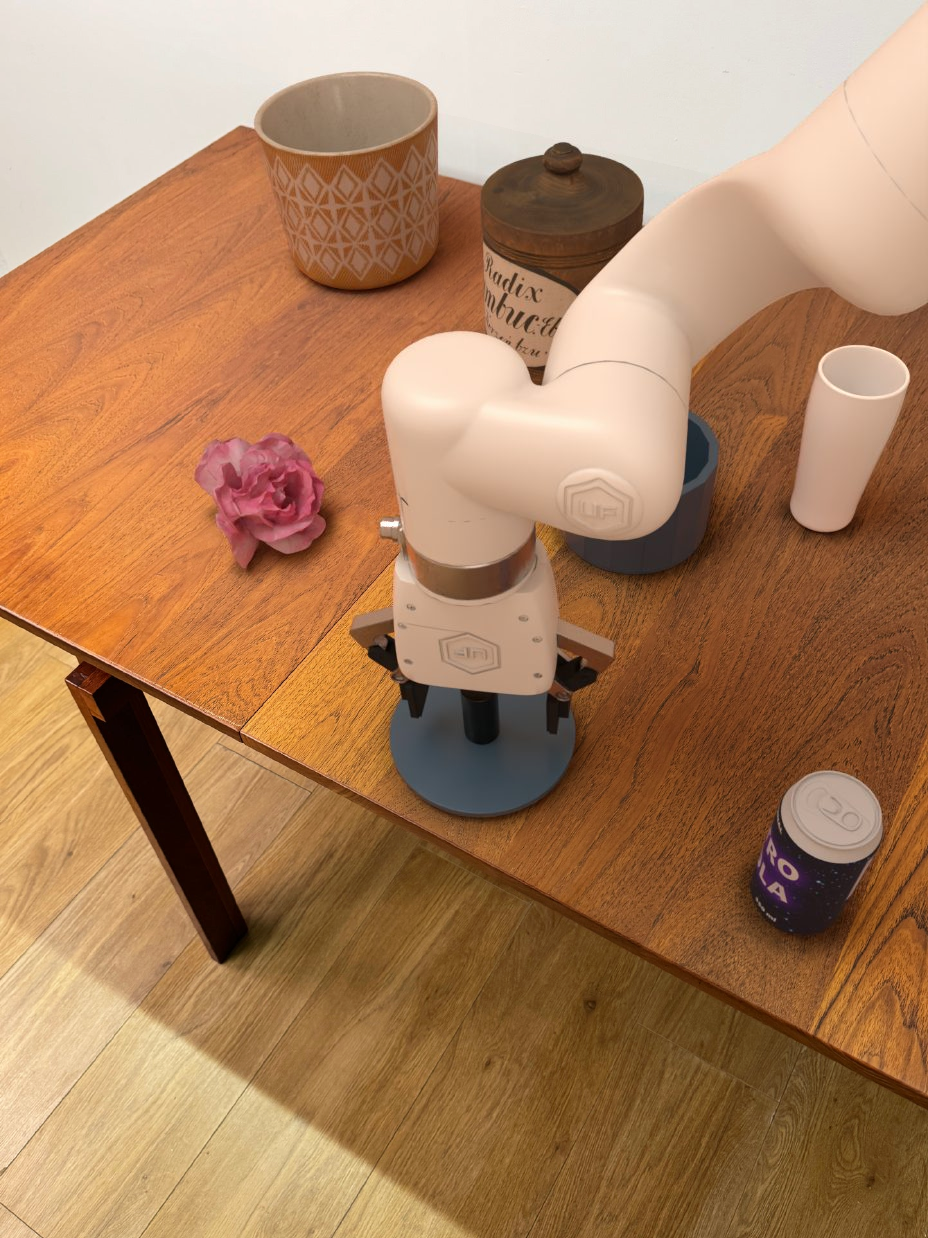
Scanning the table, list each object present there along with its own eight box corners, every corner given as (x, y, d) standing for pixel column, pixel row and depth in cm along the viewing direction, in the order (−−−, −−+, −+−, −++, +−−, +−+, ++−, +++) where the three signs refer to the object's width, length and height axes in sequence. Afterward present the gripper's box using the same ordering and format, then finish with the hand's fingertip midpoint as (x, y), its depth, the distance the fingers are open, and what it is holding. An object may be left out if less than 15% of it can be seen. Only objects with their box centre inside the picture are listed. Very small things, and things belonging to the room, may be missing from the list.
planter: (446, 297, 110) (434, 148, 98) (274, 304, 111) (240, 158, 99) (449, 208, 123) (439, 65, 110) (294, 215, 124) (266, 75, 111)
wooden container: (457, 361, 103) (442, 148, 86) (560, 302, 109) (565, 92, 92) (558, 428, 95) (563, 209, 78) (663, 361, 101) (689, 143, 84)
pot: (708, 458, 92) (721, 382, 85) (701, 606, 80) (715, 533, 74) (571, 447, 94) (573, 372, 87) (545, 590, 82) (546, 517, 76)
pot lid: (584, 675, 77) (588, 620, 72) (563, 834, 68) (565, 785, 63) (412, 655, 79) (404, 601, 74) (371, 807, 70) (358, 757, 65)
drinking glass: (869, 540, 84) (922, 397, 72) (788, 542, 84) (828, 400, 73) (850, 485, 88) (898, 341, 77) (773, 487, 89) (808, 345, 77)
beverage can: (781, 841, 67) (820, 746, 58) (856, 897, 64) (909, 807, 55) (730, 899, 65) (762, 809, 56) (806, 959, 62) (853, 876, 53)
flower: (345, 540, 92) (349, 518, 82) (245, 585, 90) (237, 568, 80) (291, 429, 92) (289, 394, 82) (191, 472, 90) (176, 442, 81)
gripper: (309, 576, 56) (356, 739, 70) (616, 604, 54) (604, 770, 67) (343, 485, 61) (381, 655, 74) (627, 507, 58) (614, 679, 71)
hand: (486, 709), depth 70 cm, fingers open, 9 cm apart
